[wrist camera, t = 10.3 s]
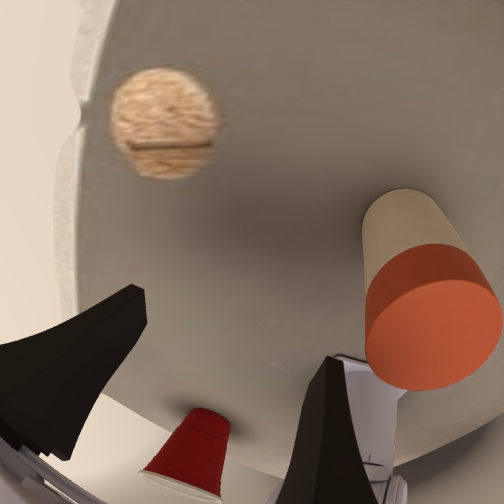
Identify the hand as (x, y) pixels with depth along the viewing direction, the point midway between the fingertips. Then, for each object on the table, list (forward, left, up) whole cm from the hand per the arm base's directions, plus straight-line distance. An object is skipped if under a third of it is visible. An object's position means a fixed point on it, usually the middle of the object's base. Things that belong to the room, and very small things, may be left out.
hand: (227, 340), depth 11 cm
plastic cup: (-32, +2, -10) cm, 34 cm away
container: (+2, -7, -10) cm, 12 cm away
